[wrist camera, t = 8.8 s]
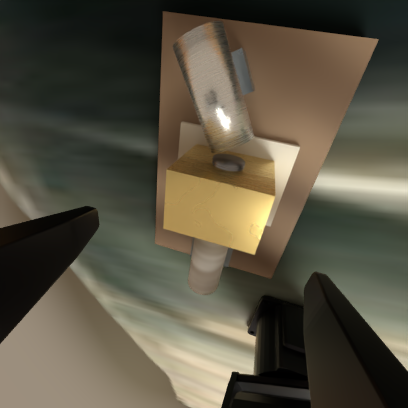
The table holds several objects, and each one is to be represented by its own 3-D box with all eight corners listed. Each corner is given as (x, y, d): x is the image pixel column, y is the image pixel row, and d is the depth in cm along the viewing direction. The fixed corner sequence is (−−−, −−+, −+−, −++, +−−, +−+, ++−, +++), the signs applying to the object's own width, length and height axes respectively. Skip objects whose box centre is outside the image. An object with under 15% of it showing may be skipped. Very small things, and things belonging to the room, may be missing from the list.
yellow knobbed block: (258, 211, 16) (253, 258, 12) (190, 194, 17) (163, 232, 13) (275, 156, 14) (277, 190, 10) (197, 139, 15) (166, 163, 10)
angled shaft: (263, 124, 14) (261, 139, 10) (215, 140, 15) (198, 159, 11) (239, 30, 12) (226, 9, 8) (187, 58, 13) (156, 50, 9)
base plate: (271, 266, 21) (271, 322, 16) (161, 234, 22) (131, 276, 17) (367, 43, 12) (431, 19, 7) (173, 17, 13) (119, -16, 9)
